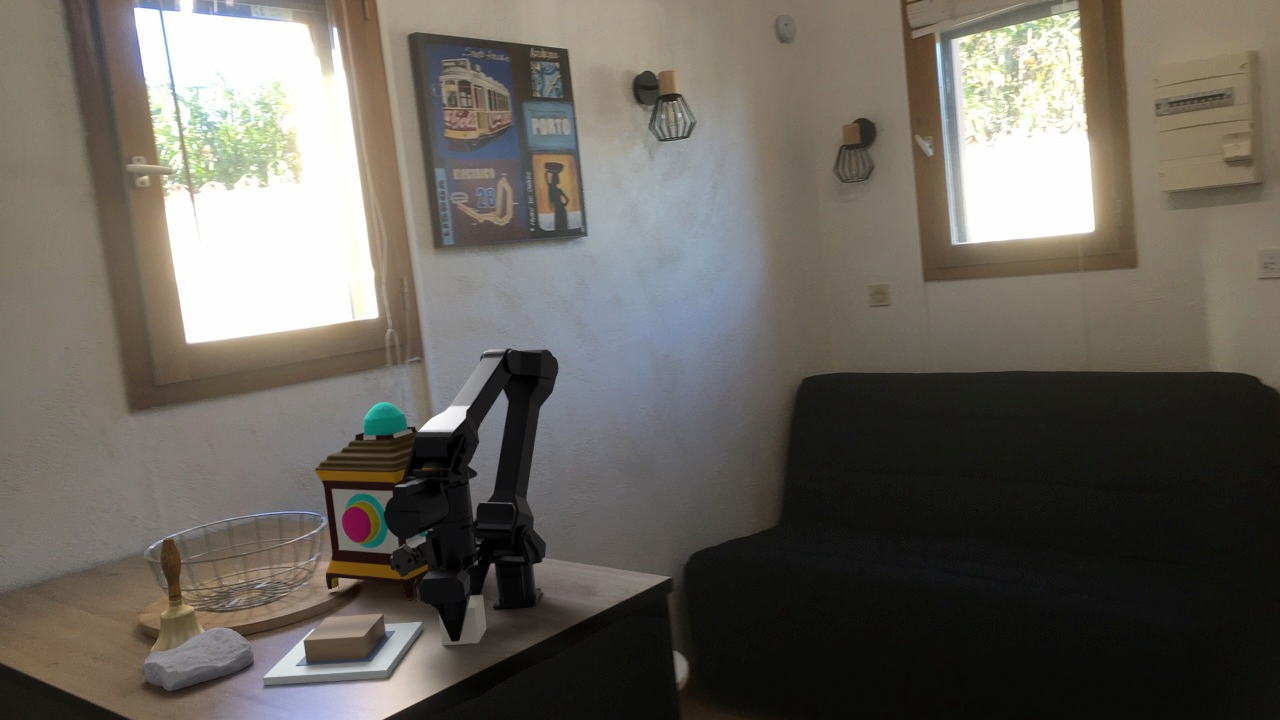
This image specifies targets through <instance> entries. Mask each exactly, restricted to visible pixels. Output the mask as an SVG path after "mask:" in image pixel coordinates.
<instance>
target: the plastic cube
mask: <svg viewBox="0 0 1280 720" xmlns="http://www.w3.org/2000/svg"><path fill="white" fill-rule="evenodd" d="M438 620H439V630H440V636H441V637H440V638H441V645H442V646H452V645H467V644H469V645H470V643H471V644H479V643H480V642H481V640H482V638H483V636H484V634H485V632H486V630H487V621H486V611H485V603H484V595H483V594H481V595H473V596H470V600H469V604H468V608H467V612H466V617H465V621H464V625H463V629H462V633H461V637H460V640H459V641H457V642H452V641H451V640H450V637H449V635H448V633H447V630H446V628H445V626H444V624H443V621H442V619H441V617H440V615H439V614H438ZM481 637H482V638H481ZM480 639H481V640H480Z"/></svg>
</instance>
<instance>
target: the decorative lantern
mask: <svg viewBox="0 0 1280 720" xmlns="http://www.w3.org/2000/svg"><path fill="white" fill-rule="evenodd" d="M362 425H363V428H362V429H363V432H361V433H358V434H355V439H353V440H351V441H349V442H348V444H347V446H344V447H343V448H341V451H339V452H335V453H331V454H328V455H327V457H326V458H325V459H324V460H322V461H321V462H320V463H319V464H318V466H317V467H315V469H314V472H315V474H316V476H317V477H318V479H319V480H320V481H321V483H322V485H323V490H324V498H325V505H326V514H327V522H328V529H329V530H328V531H329V539H330V543H331V544H330V545H331V558H330V561H329V563H328V566H327V569H326V572H325V581H326V582H325V583H326V587H327V589H328V590H329V589H332V588H335V587H337V586H338V587H339V584H340V583H339V579H346V580H347V579H348V580H359V581H360V580H361V581H371V582H381V583H382V582H383V583H390V584H391V583H394V584H397V585H400V586H401V588H402V592H403V595H404V597H405V599H406V600H408V601H411V600H413V598H414V593H415V592H414V590H415V589H414V587H415V583H416V582H417V581H418V580H419V579H421V578H424V577H425V575H426V574H427V573H428V572H429V571H434V570H439V569H441V567H438V568H437V569H428V565H425V566H423V567H421V568H419V569H416V570H414V571H412V572H410V573H409V574H408V575H406V576H404V577H400V575H399V573H398V572H397V571H396V570H392V569H391V561H390V558H391V556H392V551H393V550H394V549H395V548H397V547H398V548H400V547H402V546H403V545H404V544H409V543H411V542H414V541H416V540H418V539H420V538H422V537H425V534H426V532H427V531H425V532H423V533H421V534H418V535H416V536H414V537H412V538H410V539H401V538H398V537H396V536H395V535H393V534H392V533H391V532H390V530H389V529H388V528H387V525H386V523H385V520H384V512H385V507H386V504H387V502H388V501H389V500H390V499H391V498H392V497H393V496H395V495H394V486H397V485H399V484H406V483H408V482H403V480H402V479H403V475H404V472H405V469H406V466H407V463H408V459H409V456H410V453H411V450H412V447H413V443H414V439H415V437H416V435H417V433H418V431H419V430H417V429H416V428H417V427H416V426H408V423H407V419H406V415H405V413H404V412H403V411H401V410H400V409H399V408H398V407H397V406H395V405H394V404H392V403H390V402H385V401H382V402H379V403H377V404H375V405H374V406H372V407H371V408H370V410H369V411H368V412H367V414H366V415H365V416H364V418H363V423H362ZM422 470H449V469H443V468H424V467H423V468H422Z"/></svg>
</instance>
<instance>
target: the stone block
mask: <svg viewBox="0 0 1280 720" xmlns="http://www.w3.org/2000/svg"><path fill="white" fill-rule="evenodd" d="M251 646H252V645H251V643H250V641H248V639H247V638H245V637H244V636H243V635H241V634H240V633H238V632H237V631H234V630H233V629H232V628H227V627H214V628H209V629H207V630H205V631H204V632H202V633H200V634H199V635H197V636H194V637H192V638H190V639H189V640H187V641H186V642H185V643H183V644H182V645H180V646H179V647H177V648H174V649H170V650H167V651H155V652H153V653H151V654H150V653H149V654H148V656H147V657H146V658H145V659H144V662H143V664H142V665H143V666H142V671H141V672H142V675H143V678H144V680H145V682H147V683H148V684H151V685H154V686H157V687H158V686H160V687H163V688H164V690H166V691H168V692H174V691H177V690H180V689H184V688H186V687H191V686H194V685H196V684H199V683H204V682H207V681H211V680H214V679H216V678H220V677H224V676H227V675H230V674H232V673H233V674H234V673H236V672H239V671H241V670H242V669H244V668H245V667H247V666H249V665H251V664H252V663H254V662H255V654H254V651H253V649H252V647H251Z"/></svg>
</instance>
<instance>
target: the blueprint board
mask: <svg viewBox="0 0 1280 720" xmlns="http://www.w3.org/2000/svg"><path fill="white" fill-rule="evenodd" d="M423 625H424V624H423V621H414V622H398V623H396V622H395V623H385V617H384V613H375V614H374V613H372V614H358V615H343V616H342V615H341V616H328V617H326V618H324V619H323V621H322V622H320V623H319V625H317V626H316V627H315V628H311V630H310V631H309V632H308V633H307V634H306V635H305V636H304V637H303V638H302V639H301V640H299V642H298V643H297V644H295V646H294V647H292V649H290V650H289V651H288V652H287V653H286V655H285V656H283V657H282V658H281V659H280V660H279V661H278V662H277V663H276V664H275V665H274V666H273V667H272V668H271V669H270V670H269V671H268V672H267V673H266V674H265V675H264V676H263V677H262V679H263V681H262V682H263V685H264V686H272V685H273V686H274V685H287V684H289V685H290V684H304V683H305V684H307V683H320V682H322V683H323V682H337V681H338V682H339V681H354V680H367V679H368V680H370V679H387V678H389V676H390V675H391V674H392V672H393V671H394V669H395V668H396V667H397V665H398V664H399V663H400V661H401V659H402V658H403V657H404V656H405V654H406V652H407V651H408V650H409V648H410V647H411V646H412V645H413V643H414V642H415V640H417V637H419V635H420V634H421V632H422V631H423V629H424V627H423Z"/></svg>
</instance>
